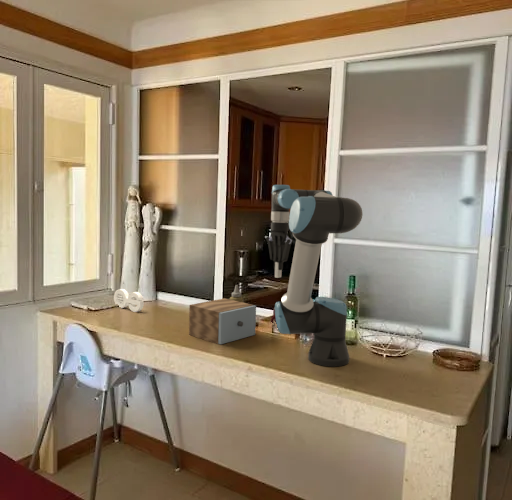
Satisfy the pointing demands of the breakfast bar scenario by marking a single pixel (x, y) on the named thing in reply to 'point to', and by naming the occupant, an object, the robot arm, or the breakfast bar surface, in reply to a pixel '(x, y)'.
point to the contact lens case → (129, 300)
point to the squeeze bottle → (236, 295)
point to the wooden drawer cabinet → (210, 317)
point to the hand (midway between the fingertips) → (278, 277)
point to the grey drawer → (236, 324)
